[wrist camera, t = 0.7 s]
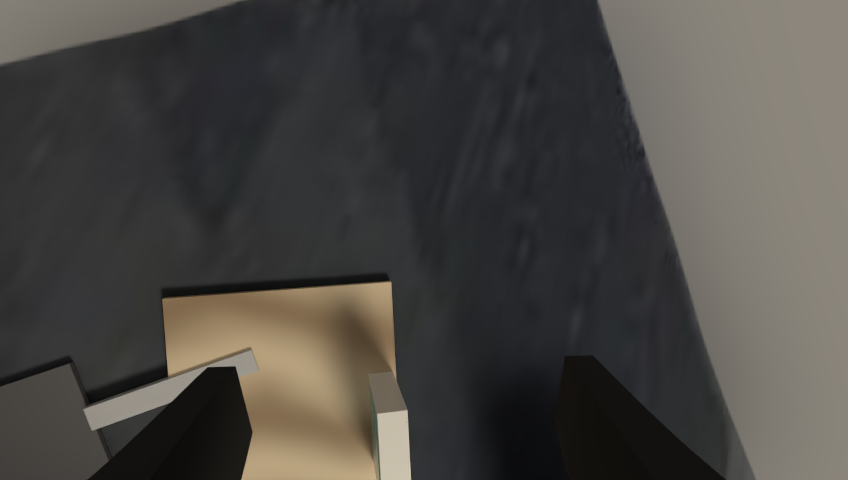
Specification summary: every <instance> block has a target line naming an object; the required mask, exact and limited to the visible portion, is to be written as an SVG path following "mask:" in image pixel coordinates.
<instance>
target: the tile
mask: <svg viewBox="0 0 848 480" xmlns="http://www.w3.org/2000/svg"><path fill="white" fill-rule="evenodd" d="M369 393H370V411H371V429H372V447H373V461H374V468H375V474H376V480H411V471H410V452H409V432H408V413H407V408H406V405H405V402H404V400H403V397H402V394H401V392H400V389H399V387H398V384H397V381H396V379H395V376H394V373H393V371H392V372H382V373H373V374H369Z"/></svg>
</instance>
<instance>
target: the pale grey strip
mask: <svg viewBox="0 0 848 480" xmlns="http://www.w3.org/2000/svg"><path fill="white" fill-rule="evenodd" d="M227 366H236V370H237V373H238V377H239V378H240V377H242V376H245V375H248V374H251V373H254V372H256V371H259V368H258V365H257V362H256V359H255V357H254V354H253V351H252V349H251V350H248V351H245V352H242V353H240V354H237V355H234V356H231V357H228V358H225V359H223V360H220V361H217V362H214V363H211V364H208V365H206V366H203V367H200V368H197V369H194V370H191V371H189V372H186V373H183V374H180V375H177V376H174V377H172V378H169V379H168V377H166V378H163V379H160V380H157V381H154V382H152V383H149V384H146V385H143V386H140V387H137V388H135V389H132V390H129V391H126V392H123V393H120V394H118V395H115V396H112V397H109V398H106V399H103V400H100V401H98V402H95V403H92V404H90V403H89V400H88V398H87V395H86V393H85V390H84V388H83V385H82V383H81V380H80V378H79V375H78V373H77V370H76V368H75V365H74V363H73V362H71V363H68V364H65V365H62V366H59V367H56V368H53V369H50V370H47V371H44V372H41V373H38V374H35V375H32V376H29V377H26V378H23V379H20V380H17V381H14V382H11V383H8V384H5V385H2V386H0V480H86V479H89V478H90V477H91V476H92V475H93V474H95V473H96V472H97V471H98V470H99V469H100V468H101V467H102V466H104V465H105V464H106V463H107V462H108V461H109V460H110V459H111V458H112V457H111V455H110V452H109V450H108V447H107V445H106V442H105V440H104V437H103V435H102V432H101V430H100V428H101V427H104V426H107V425H109V424H112V423H115V422H118V421H121V420H123V419H126V418H129V417H132V416H134V415H137V414H140V413H143V412H145V411H148V410H151V409H154V408H157V407H159V406H162V405H165V404H168V403H170V402H172V401H173V400H174V399H175V398H176V397H177V396H178V395H179V394H180V393H181V392H182V391H183V390H184V389H185V388H186V387H187V386H188V385H189V384H190V383H191V382H192V381H193V380H194V379H195V378H196V377H197V376H199V375H200V374H201V373H202V372H203V371H204V370H205V369H206V368H207V367H227Z"/></svg>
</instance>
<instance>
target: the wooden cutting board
mask: <svg viewBox="0 0 848 480" xmlns="http://www.w3.org/2000/svg"><path fill="white" fill-rule="evenodd" d="M162 302H163V315H164V327H165V340H166V353H167V366H168V379H169V378H172V377H174V376H177V375H180V374H183V373H186V372H189V371H191V370H194V369H197V368H200V367H203V366H206V365H208V364H211V363H214V362H217V361H220V360H223V359H225V358H228V357H231V356H234V355H237V354H240V353H242V352H245V351H248V350H251V349H252V351H253V354H254V357H255V359H256V362H257V365H258V368H259V371H256V372H254V373H251V374H248V375H245V376H242V377H240V378H239V381H240V385H241V389H242V393H243V397H244V400H245V404H246V408H247V412H248V416H249V420H250V424H251V428H252V431H253V433H252V438H251V442H250V447H249V451H248V455H247V459H246V463H245V467H244V471H243V475H242V479H241V480H376V474H375V468H374V461H373V447H372V429H371V411H370V393H369V374H373V373H382V372H392V371H393V373H394V376H395V379H396V366H395V346H394V327H393V308H392V289H391V281H382V282H368V283H355V284H341V285H327V286H313V287H300V288H286V289H272V290H259V291H245V292H231V293H218V294H204V295H190V296H176V297H165V298H163V299H162ZM170 403H171V402H170Z"/></svg>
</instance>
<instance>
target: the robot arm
mask: <svg viewBox="0 0 848 480" xmlns="http://www.w3.org/2000/svg"><path fill="white" fill-rule="evenodd" d="M554 424H555V428H556V432H557V436H558V441H559V445H560V449H561V453H562V457H563V460H564V464H565V468H566V471H567V474H568V477H569V479H570V480H726V479H724V478H723V477H722V476H721V475H720V474H718V473H717V472H716V471H715V470H714V469H713V468H711V467H710V466H709V465H708V464H707V463H706V462H704V461H703V460H702V459H701V458H700V457H698V456H697V455H696V454H695V453H694V452H693V451H691V450H690V449H689V448H688V447H687V446H686V445H685V444H684V443H683V442H681V441H680V440H679V439H678V438H677V437H676V436H675V435H674V434H673V433H672V432H671V431H669V430H668V429H667V428H666V427H665V426H664V425H663V424H662V423H661V422H660V421H659V420H658V419H657V418H656V417H655V416H653V415H652V414H651V413H650V412H649V411H648V410H647V409H646V408H645V407H644V406H643V405H642V404H641V403H640V402H639V401H638V400H637V399H636V398H635V397H634V396H633V395H632V394H631V393H630V392H629V391H628V390H627V389H626V388H625V387H624V386H623V385H622V384H621V383H620V382H619V381H618V380H617V379H616V378H615V377H614V376H613V375H612V374H611V373H610V372H609V371H608V370H607V369H606V368H605V367H604V366H603V365H602V364H601V363H600V362H599V361H598V360H597V359H596V358H595V357H594V356H593V355H589V356H565V360H564V366H563V372H562V378H561V384H560V390H559V396H558V402H557V408H556V414H555V420H554ZM252 433H253V431H252V428H251V424H250V420H249V416H248V412H247V408H246V404H245V400H244V397H243V393H242V389H241V385H240V381H239V377H238V373H237V370H236V366H227V367H207V368H206V369H205V370H204V371H203V372H202V373H201V374H200V375H199V376H197V377H196V378H195V379H194V380H193V381H192V382H191V383H190V384H189V385H188V386H187V387H186V388H185V389H184V390H183V391H182V392H181V393H180V394H179V395H178V396H177V397H176V398H175V399H174V400H173V401H172V402H171V403H170V404H169V405H168V406H167V407H166V408H165V409H164V410H163V411H162V412H161V413H160V414H158V415H157V416H156V417H155V418H154V419H153V420H152V421H151V422H150V423H149V424H148V425H147V426H146V427H145V428H144V429H143V430H142V431H141V432H140V433H139V434H138V435H136V436H135V437H134V438H133V439H132V440H131V441H130V442H129V443H128V444H127V445H126V446H125V447H124V448H123V449H122V450H121V451H119V452H118V453H117V454H116V455H115V456H114V457H113V458H111V459H110V460H109V461H108V462H107V463H106V464H105V465H104V466H102V467H101V468H100V469H99V470H98V471H97V472H96V473H95V474H93V475H92V476H91V477H90V478H89V479H88V480H241V479H242V475H243V471H244V467H245V463H246V459H247V455H248V451H249V447H250V442H251V438H252Z"/></svg>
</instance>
